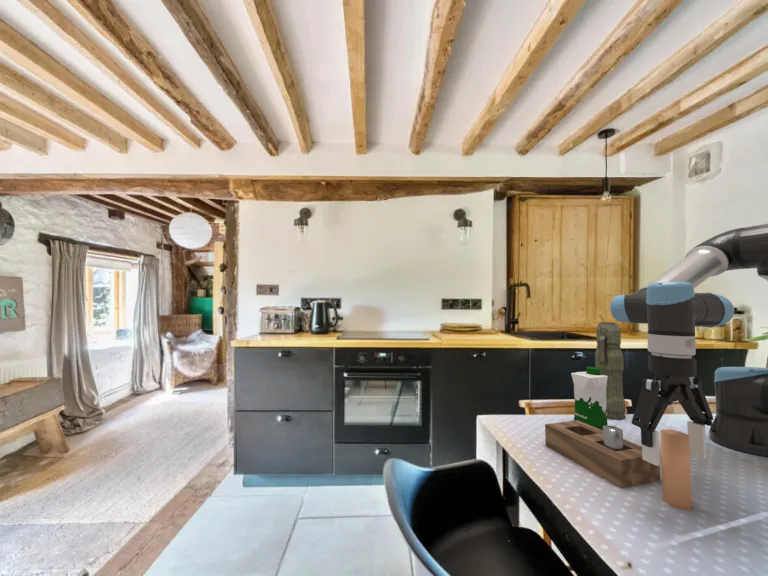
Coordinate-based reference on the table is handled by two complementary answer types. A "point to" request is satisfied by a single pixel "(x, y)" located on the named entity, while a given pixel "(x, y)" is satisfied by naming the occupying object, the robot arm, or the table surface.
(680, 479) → the peg
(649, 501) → the table surface
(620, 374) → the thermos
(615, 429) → the steel pin
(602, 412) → the milk carton
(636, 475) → the hole block
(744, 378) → the robot arm
